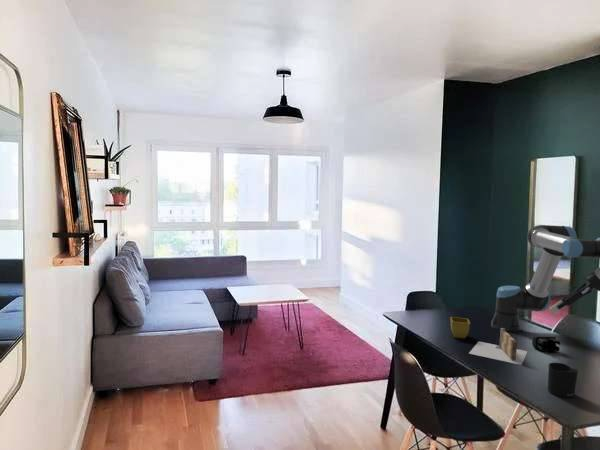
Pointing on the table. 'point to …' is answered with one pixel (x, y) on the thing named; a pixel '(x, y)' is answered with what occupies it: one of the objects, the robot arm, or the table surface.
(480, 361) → the table surface
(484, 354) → the base
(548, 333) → the table surface
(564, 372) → the pen holder
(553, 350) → the end cap
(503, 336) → the gate
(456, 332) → the flower pot
